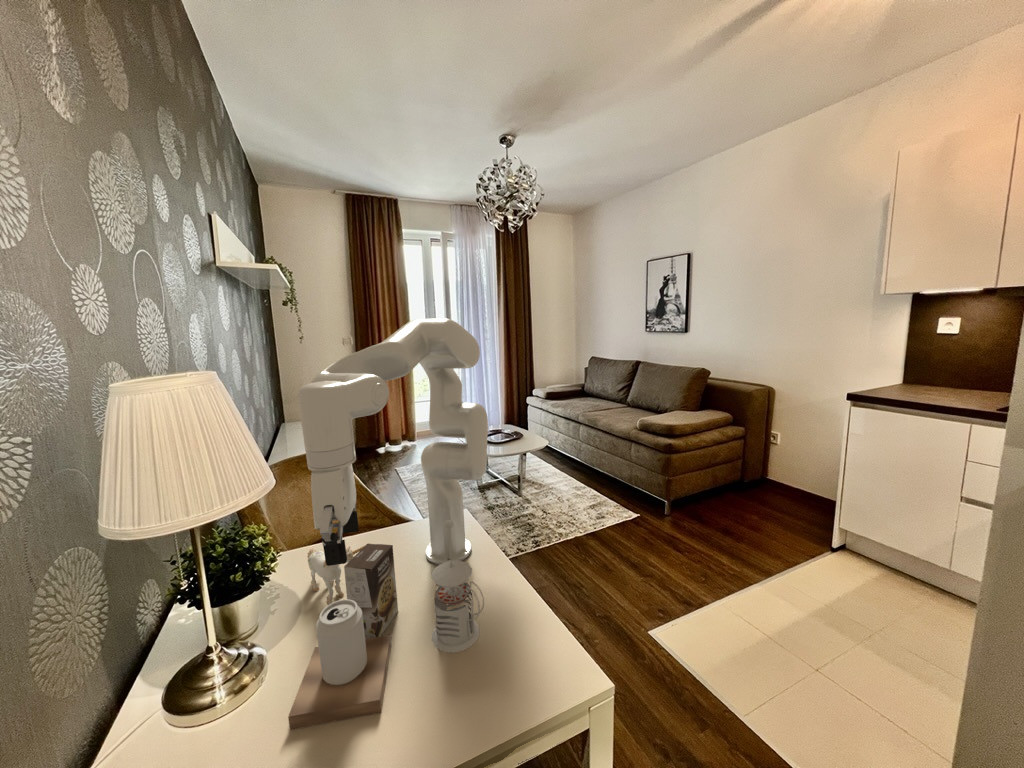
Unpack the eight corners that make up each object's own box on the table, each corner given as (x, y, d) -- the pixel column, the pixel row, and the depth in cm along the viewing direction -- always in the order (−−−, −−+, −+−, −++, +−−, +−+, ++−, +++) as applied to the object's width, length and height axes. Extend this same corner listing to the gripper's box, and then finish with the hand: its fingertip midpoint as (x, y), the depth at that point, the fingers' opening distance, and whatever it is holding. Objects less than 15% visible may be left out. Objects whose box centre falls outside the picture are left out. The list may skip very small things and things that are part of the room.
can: (331, 655, 75) (323, 597, 73) (372, 650, 76) (366, 593, 74) (315, 691, 68) (307, 628, 66) (361, 686, 68) (354, 623, 67)
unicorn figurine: (352, 615, 89) (347, 560, 87) (291, 594, 96) (284, 543, 94) (375, 595, 95) (370, 543, 93) (316, 576, 103) (310, 528, 101)
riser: (316, 658, 78) (315, 647, 77) (391, 646, 80) (390, 635, 80) (290, 730, 64) (288, 716, 64) (381, 712, 66) (379, 699, 66)
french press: (449, 610, 89) (443, 505, 85) (495, 626, 84) (490, 515, 80) (421, 642, 81) (412, 527, 77) (470, 662, 75) (463, 540, 72)
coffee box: (378, 642, 81) (371, 569, 78) (349, 638, 82) (342, 566, 80) (399, 610, 90) (393, 544, 87) (373, 607, 91) (367, 541, 89)
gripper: (322, 440, 75) (334, 524, 78) (288, 478, 58) (305, 582, 62) (364, 437, 76) (373, 519, 80) (342, 472, 60) (356, 574, 63)
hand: (343, 546), depth 71 cm, fingers open, 9 cm apart
